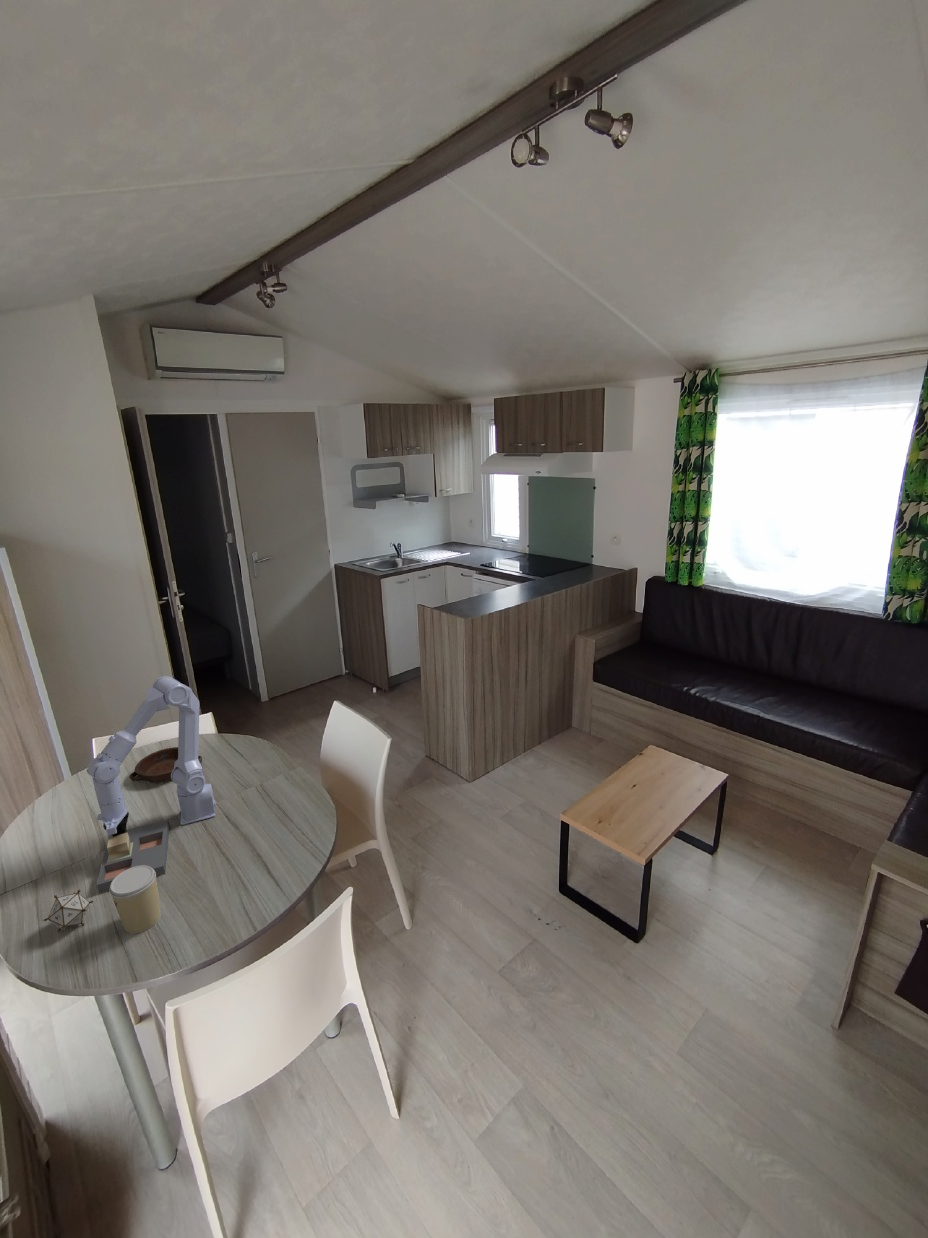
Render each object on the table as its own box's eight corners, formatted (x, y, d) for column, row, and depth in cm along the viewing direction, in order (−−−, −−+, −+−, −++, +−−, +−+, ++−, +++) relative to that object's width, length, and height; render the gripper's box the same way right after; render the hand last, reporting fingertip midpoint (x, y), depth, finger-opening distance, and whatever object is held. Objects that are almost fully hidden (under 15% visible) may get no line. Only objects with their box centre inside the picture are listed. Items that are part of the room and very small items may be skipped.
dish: (130, 771, 194) (127, 758, 193) (199, 751, 205) (197, 739, 204) (132, 796, 180) (129, 782, 179) (206, 774, 191) (203, 761, 189)
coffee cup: (131, 906, 137) (121, 866, 133) (171, 902, 137) (161, 862, 134) (112, 938, 128) (100, 896, 124) (154, 934, 128) (144, 892, 125)
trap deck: (169, 826, 165) (167, 819, 164) (165, 873, 147) (163, 865, 146) (110, 841, 159) (108, 834, 159) (98, 893, 141) (96, 885, 140)
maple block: (130, 844, 154) (127, 832, 153) (129, 854, 150) (126, 842, 149) (111, 850, 152) (108, 838, 151) (110, 860, 148) (107, 848, 147)
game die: (78, 941, 132) (61, 935, 124) (47, 926, 132) (28, 919, 124) (106, 902, 137) (91, 894, 129) (75, 888, 138) (59, 879, 130)
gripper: (97, 788, 155) (108, 829, 159) (88, 818, 143) (100, 862, 147) (126, 781, 158) (137, 822, 162) (120, 810, 145) (131, 854, 149)
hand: (121, 840), depth 155 cm, fingers closed
